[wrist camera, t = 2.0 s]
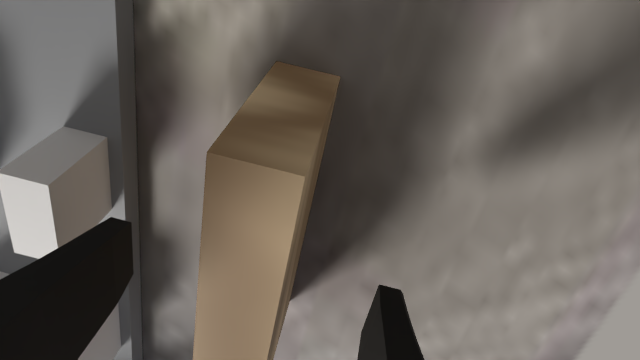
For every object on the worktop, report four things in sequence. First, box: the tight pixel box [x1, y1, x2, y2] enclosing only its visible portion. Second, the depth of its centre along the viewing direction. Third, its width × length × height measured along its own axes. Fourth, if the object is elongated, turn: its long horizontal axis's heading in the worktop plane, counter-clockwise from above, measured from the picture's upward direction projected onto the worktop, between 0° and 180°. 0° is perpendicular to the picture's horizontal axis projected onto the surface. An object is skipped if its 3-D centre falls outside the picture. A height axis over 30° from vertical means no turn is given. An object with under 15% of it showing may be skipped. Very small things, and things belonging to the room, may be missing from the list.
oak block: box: [193, 61, 340, 360], centre depth 14 cm, size 2×10×6 cm, turn 169°
